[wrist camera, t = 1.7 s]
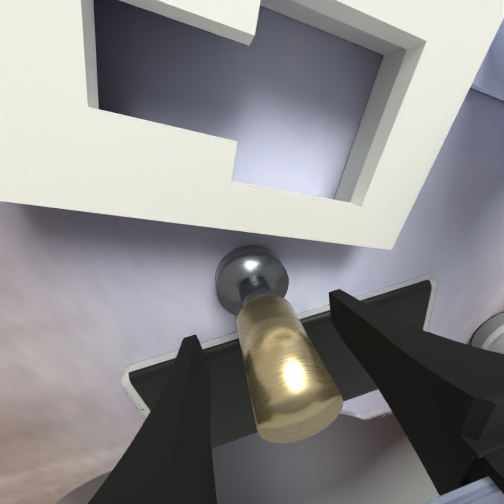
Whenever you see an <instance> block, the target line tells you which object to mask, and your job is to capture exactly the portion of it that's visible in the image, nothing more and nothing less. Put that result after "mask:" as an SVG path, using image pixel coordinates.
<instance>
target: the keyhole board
mask: <svg viewBox="0 0 504 504" xmlns="http://www.w3.org/2000/svg"><path fill="white" fill-rule="evenodd" d="M120 1H123V2H125V3H128V4H131V5H134V6H137V7H140V8H143V9H145V10H148V11H151V12H154V13H157V14H160V15H163V16H166V17H168V18H171V19H174V20H177V21H180V22H183V23H186V24H188V25H191V26H194V27H197V28H200V29H203V30H206V31H209V32H211V33H214V34H217V35H220V36H223V37H226V38H229V39H231V40H234V41H237V42H240V43H243V44H246V45H250V44H251V42H252V40H253V38H254V36H255V32H256V25H257V19H258V13H259V7H260V6H262V7H265V8H267V9H270V10H272V11H275V12H277V13H280V14H282V15H285V16H287V17H290V18H292V19H295V20H297V21H300V22H302V23H305V24H307V25H310V26H312V27H315V28H317V29H320V30H322V31H325V32H327V33H330V34H332V35H335V36H337V37H340V38H342V39H345V40H347V41H350V42H352V43H354V44H357V45H359V46H362V47H364V48H367V49H369V50H372V51H374V52H377V53H379V54H382V55H384V56H383V59H382V62H381V64H380V67H379V70H378V73H377V76H376V79H375V82H374V85H373V88H372V91H371V94H370V96H369V99H368V102H367V105H366V108H365V111H364V114H363V117H362V120H361V123H360V125H359V128H358V131H357V134H356V137H355V140H354V143H353V146H352V149H351V152H350V155H349V157H348V160H347V163H346V166H345V169H344V172H343V175H342V178H341V181H340V184H339V187H338V189H337V192H336V195H335V198H334V199H328V198H323V197H317V196H312V195H306V194H301V193H295V192H290V191H285V190H279V189H274V188H268V187H263V186H257V185H252V184H246V183H241V182H235V181H231V179H232V173H233V166H234V160H235V154H236V148H237V142H238V141H234V140H230V139H225V138H221V137H217V136H212V135H208V134H204V133H199V132H195V131H191V130H186V129H182V128H178V127H173V126H169V125H165V124H160V123H156V122H152V121H148V120H143V119H139V118H135V117H130V116H126V115H122V114H117V113H113V112H109V111H104V110H100V109H99V104H98V84H97V64H96V44H95V24H94V4H93V0H0V201H5V202H13V203H20V204H28V205H36V206H44V207H52V208H60V209H68V210H76V211H84V212H92V213H100V214H108V215H116V216H124V217H132V218H140V219H148V220H156V221H164V222H172V223H180V224H187V225H195V226H203V227H211V228H219V229H227V230H235V231H243V232H251V233H259V234H267V235H275V236H283V237H291V238H299V239H307V240H315V241H323V242H331V243H339V244H346V245H354V246H362V247H370V248H378V249H386V250H392V248H393V246H394V244H395V242H396V240H397V238H398V236H399V233H400V231H401V229H402V227H403V225H404V223H405V221H406V219H407V217H408V215H409V213H410V211H411V209H412V207H413V205H414V202H415V200H416V198H417V196H418V194H419V192H420V190H421V188H422V186H423V184H424V182H425V180H426V178H427V176H428V173H429V171H430V169H431V167H432V165H433V163H434V161H435V159H436V157H437V155H438V153H439V151H440V149H441V147H442V145H443V142H444V140H445V138H446V136H447V134H448V132H449V130H450V128H451V126H452V124H453V122H454V120H455V118H456V116H457V114H458V111H459V109H460V107H461V105H462V103H463V101H464V99H465V97H466V95H467V93H468V91H469V89H470V87H471V85H472V83H473V80H474V78H475V76H476V74H477V72H478V70H479V68H480V66H481V64H482V62H483V60H484V58H485V56H486V54H487V52H488V49H489V47H490V45H491V43H492V41H493V39H494V37H495V35H496V33H497V31H498V29H499V27H500V25H501V23H502V21H503V18H504V0H120Z"/></svg>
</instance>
